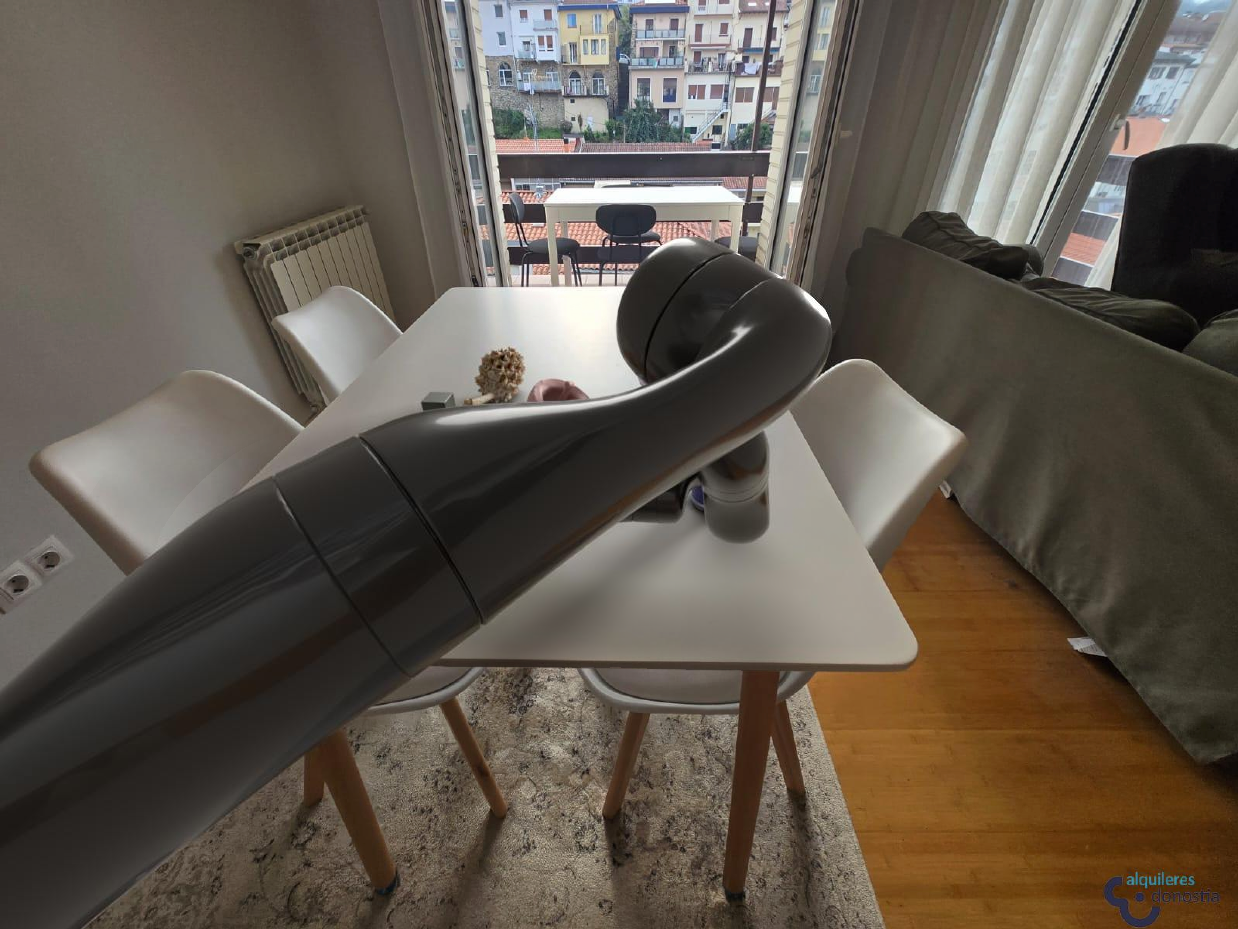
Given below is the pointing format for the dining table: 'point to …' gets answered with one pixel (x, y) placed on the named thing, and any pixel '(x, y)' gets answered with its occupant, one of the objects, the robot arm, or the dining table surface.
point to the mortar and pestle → (555, 391)
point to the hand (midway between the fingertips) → (456, 484)
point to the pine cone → (498, 376)
